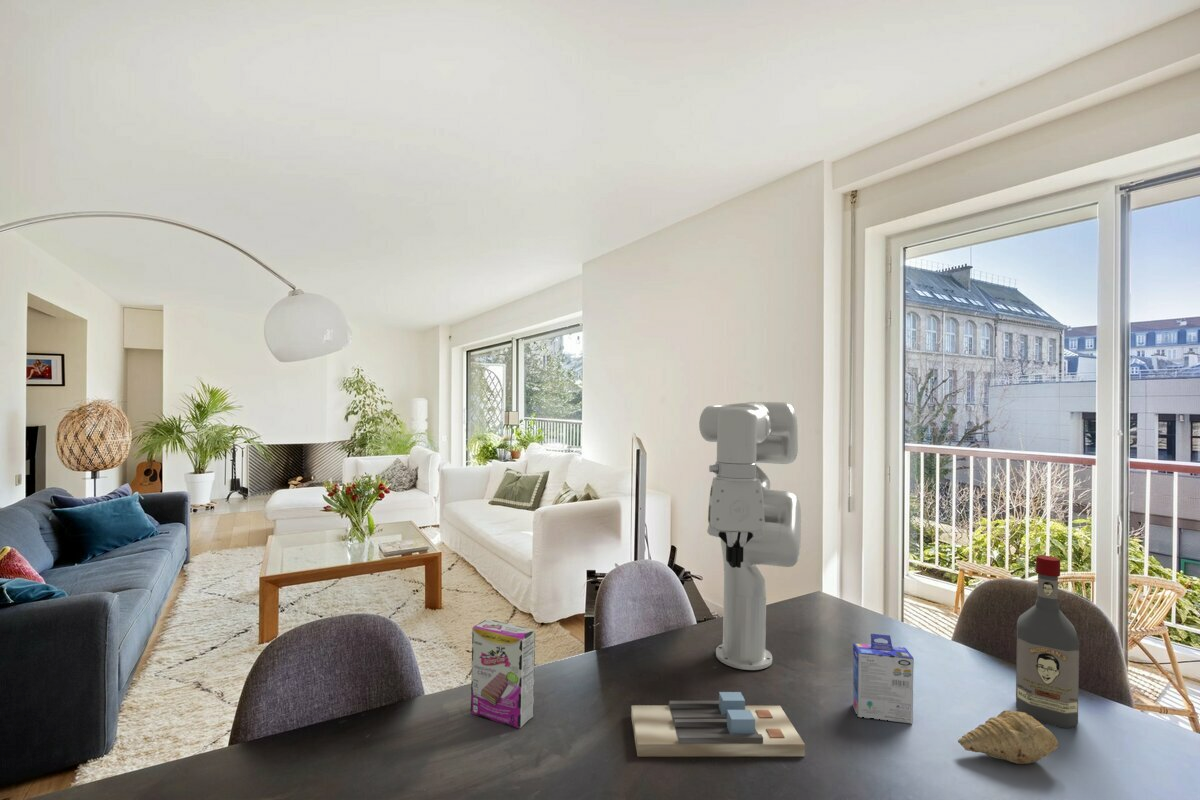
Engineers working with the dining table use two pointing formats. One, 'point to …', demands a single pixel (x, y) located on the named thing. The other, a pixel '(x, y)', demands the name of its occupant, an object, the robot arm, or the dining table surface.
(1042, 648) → the liquor
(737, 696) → the tab
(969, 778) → the dining table surface
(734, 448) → the robot arm
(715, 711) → the switch board
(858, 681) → the ink cartridge box
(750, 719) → the tab
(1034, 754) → the seashell
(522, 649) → the candy bar box
